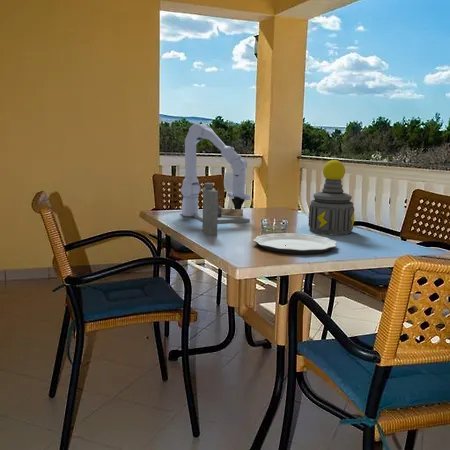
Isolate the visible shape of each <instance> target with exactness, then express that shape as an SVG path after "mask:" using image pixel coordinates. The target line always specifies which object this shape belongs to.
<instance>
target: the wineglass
mask: <svg viewBox="0 0 450 450" xmlns="http://www.w3.org/2000/svg"><path fill="white" fill-rule="evenodd" d="M223 187H224V191H226V192H227V193H228V192H232V189H233V170H232V171H228V170H227V171H225V173H224V177H223ZM232 199H234V197H230V202H229V203H230V206H229V209H234V208H233V202H232Z"/></svg>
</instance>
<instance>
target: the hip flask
mask: <svg viewBox="0 0 450 450" xmlns="http://www.w3.org/2000/svg"><path fill="white" fill-rule="evenodd" d="M213 187H214V182H204V187H203V188H202V213H203V222H202V225H201V227H202V232H203V233H204V234H205V235H207V236H210V237H218V223H217V219H218V205H219V191H218V190H216V189H213Z"/></svg>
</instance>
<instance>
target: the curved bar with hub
mask: <svg viewBox="0 0 450 450" xmlns="http://www.w3.org/2000/svg"><path fill="white" fill-rule="evenodd" d="M218 216H238V217H243V216H244V209H243V208H241V209H235V208H233V209H230V208H226V207H225V208H224V207H222V206H220V204H218Z"/></svg>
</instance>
